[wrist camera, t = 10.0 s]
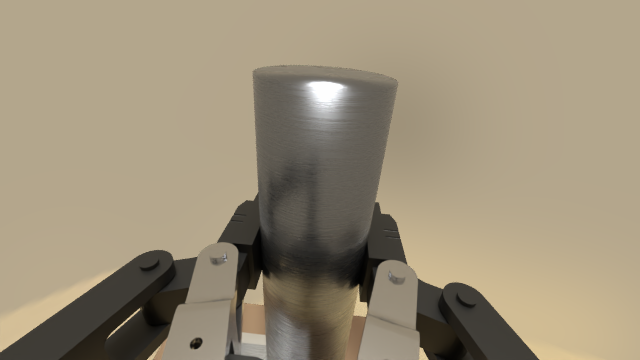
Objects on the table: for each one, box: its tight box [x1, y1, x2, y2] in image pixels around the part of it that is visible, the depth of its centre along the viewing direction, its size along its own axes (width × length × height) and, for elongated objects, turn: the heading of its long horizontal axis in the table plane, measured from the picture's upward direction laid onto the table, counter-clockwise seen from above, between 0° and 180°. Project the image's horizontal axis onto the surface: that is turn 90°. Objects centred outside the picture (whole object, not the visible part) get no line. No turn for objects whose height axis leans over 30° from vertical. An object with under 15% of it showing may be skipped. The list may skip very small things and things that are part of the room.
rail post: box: [253, 65, 398, 360], centre depth 11 cm, size 4×4×14 cm
